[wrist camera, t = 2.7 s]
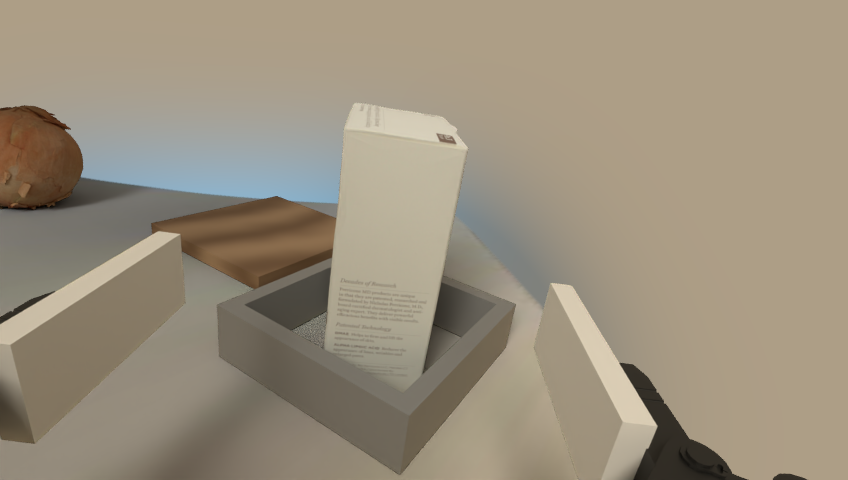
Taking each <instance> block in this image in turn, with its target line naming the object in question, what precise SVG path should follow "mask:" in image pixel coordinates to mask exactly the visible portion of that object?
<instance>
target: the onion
mask: <svg viewBox="0 0 848 480" xmlns="http://www.w3.org/2000/svg"><path fill="white" fill-rule="evenodd" d="M51 115H54V114H51V113H48V112H47V111H46V110H44V109H41V108H38V107H35V106H25V105H24V106H20V107H13V108H11V107H9V108H8V107H6V108H1V109H0V209H4V208H3V207H4V206H5V207H9V208H13V207H14V208H19V207H20V208H32V209H35V208H36V207H41V206H44V205H47V207H49V206H51V205H53V206H55V202H57V201H60V200H62V199H65V198H67V197H69V196H70V195H71V194H72V192H71V191H72V190H73V188H74V186H75V185H76V184H77V182H78V181H79V179H80V177H81V173H82V170H83V159H82V154H81V151H80V148H79V146H78V144H77V143H76V141H75V140H74V139H73V138H72V137H71V135H69V134H68V133H67V132H66V131H65V129H70V128H69V127H67V126H66V124H63V123H61V122H60V121H58V120H57V119H56V118H55V117H53V116H51ZM9 208H8V209H9Z"/></svg>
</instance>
